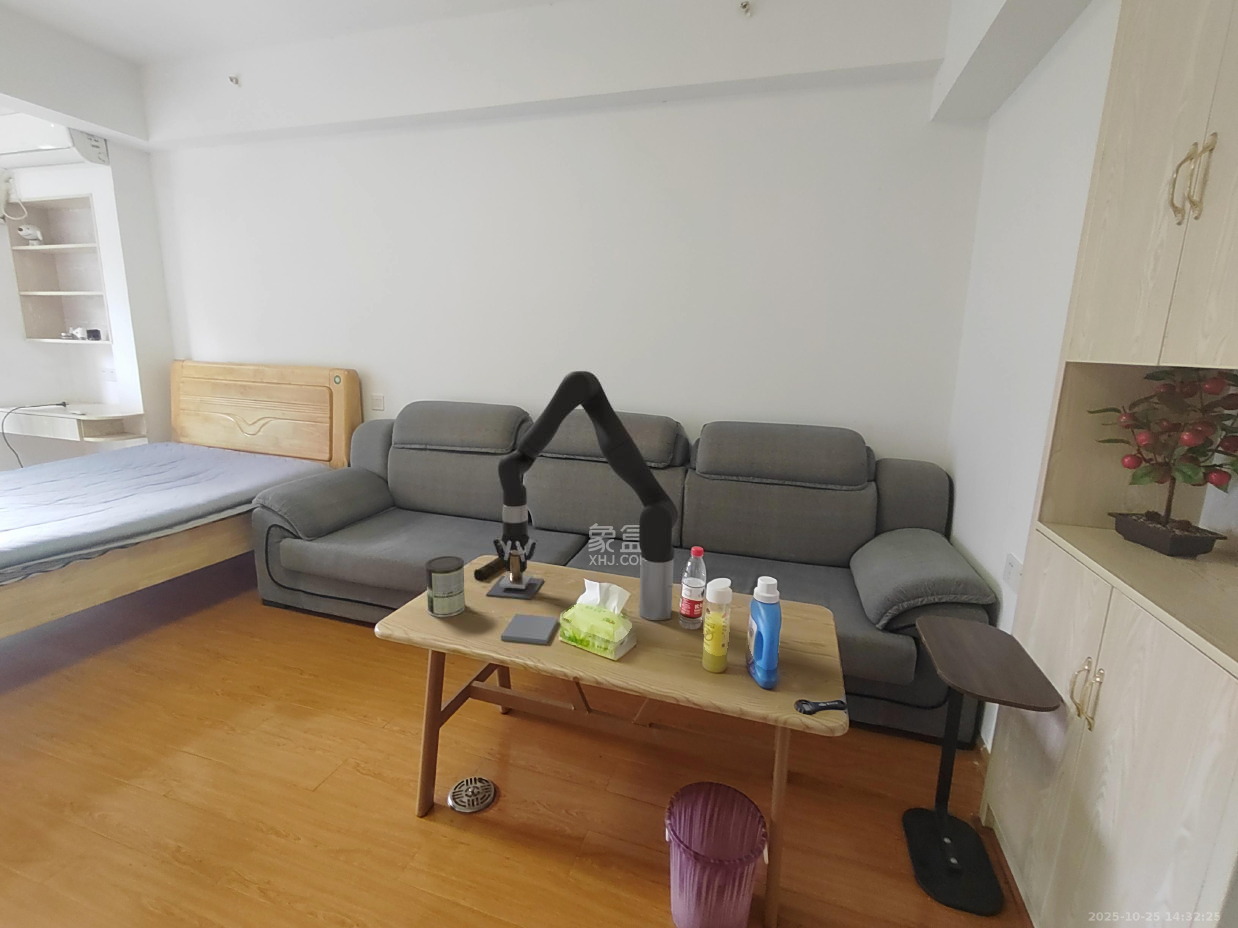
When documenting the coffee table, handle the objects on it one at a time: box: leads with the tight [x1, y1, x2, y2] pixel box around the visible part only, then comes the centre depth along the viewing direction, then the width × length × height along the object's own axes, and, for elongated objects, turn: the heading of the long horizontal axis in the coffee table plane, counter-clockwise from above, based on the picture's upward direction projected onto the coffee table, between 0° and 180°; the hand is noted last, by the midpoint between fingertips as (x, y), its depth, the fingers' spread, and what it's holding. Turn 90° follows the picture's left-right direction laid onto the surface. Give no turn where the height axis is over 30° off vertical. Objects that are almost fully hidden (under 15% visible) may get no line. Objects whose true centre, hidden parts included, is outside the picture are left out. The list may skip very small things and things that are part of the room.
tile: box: [500, 613, 559, 645], centre depth 148 cm, size 12×2×12 cm
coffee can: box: [424, 555, 466, 618], centre depth 157 cm, size 10×10×14 cm
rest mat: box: [485, 575, 545, 601], centre depth 173 cm, size 14×14×1 cm
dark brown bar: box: [473, 550, 506, 581], centre depth 186 cm, size 19×4×5 cm, turn 156°
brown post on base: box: [499, 551, 533, 589], centre depth 172 cm, size 8×8×9 cm
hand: (515, 570), depth 172 cm, fingers closed on brown post on base, 4 cm apart
